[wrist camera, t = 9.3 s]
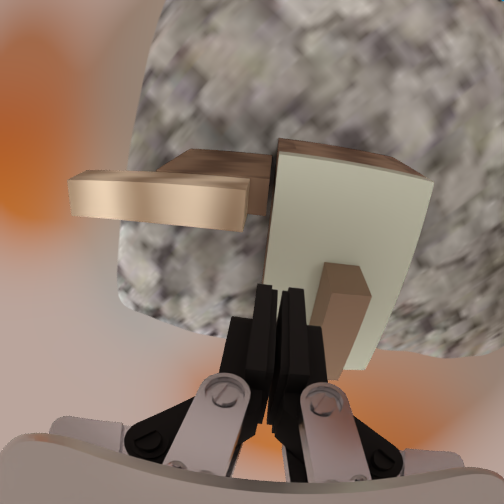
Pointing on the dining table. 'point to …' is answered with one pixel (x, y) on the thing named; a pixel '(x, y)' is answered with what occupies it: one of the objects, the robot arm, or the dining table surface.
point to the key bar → (161, 198)
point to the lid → (344, 247)
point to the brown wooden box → (269, 167)
